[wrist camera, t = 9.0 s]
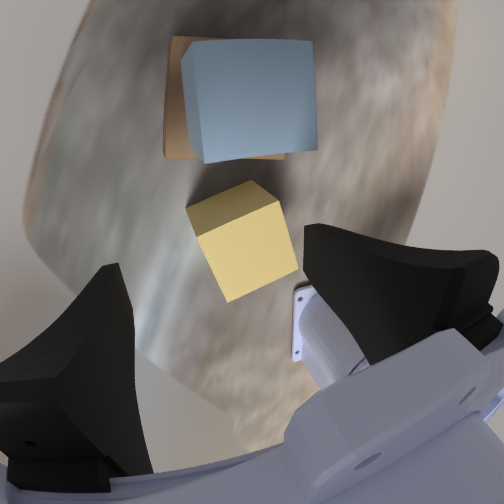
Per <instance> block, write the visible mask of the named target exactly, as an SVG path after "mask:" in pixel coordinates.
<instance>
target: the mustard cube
mask: <svg viewBox="0 0 504 504" xmlns="http://www.w3.org/2000/svg"><path fill="white" fill-rule="evenodd" d="M185 209H186V211H187V214H188V217H189V219H190V222H191V224H192V227H193V229H194V232H195V235H196V237H197V239H198V241H199V244H200V246H201V248H202V250H203V252H204V254H205V256H206V259H207V261H208V263H209V265H210V267H211V269H212V271H213V273H214V275H215V277H216V279H217V282H218V284H219V286H220V288H221V290H222V292H223V294H224V296H225V298H226V300H227V302H230V301H232V300H234V299H237V298H239V297H241V296H243V295H245V294H247V293H249V292H251V291H254V290H256V289H258V288H260V287H262V286H264V285H266V284H268V283H270V282H272V281H274V280H277V279H279V278H281V277H283V276H285V275H287V274H289V273H291V272H293V271H295V270H297V269H298V266H297V262H296V258H295V255H294V251H293V248H292V244H291V240H290V237H289V233H288V230H287V226H286V223H285V220H284V216H283V213H282V209H281V206H280V202H279V200H278V199H276V198H275V197H274V196H272V195H271V194H270V193H268V192H267V191H266V190H264V189H263V188H262V187H260V186H259V185H258V184H256V183H255V182H254V181H252V180H249V181H247V182H245V183H242V184H240V185H237V186H235V187H233V188H230V189H228V190H226V191H223V192H221V193H219V194H216V195H214V196H212V197H210V198H207V199H205V200H203V201H200V202H198V203H196V204H194V205H192V206H189V207H187V208H185Z"/></svg>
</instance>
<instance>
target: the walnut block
mask: <svg viewBox="0 0 504 504" xmlns="http://www.w3.org/2000/svg"><path fill="white" fill-rule="evenodd" d="M209 40H225V39H222V38H209V37H190V36H172V39H171V42H170V44H169V48H168V59H167V72H166V86H165V104H164V128H163V153H164V156H165V159H195V158H199V157H198V156H197V155H196V154H195V153H194V152H193V151H192V150H191V149H190V146H189V138H188V130H187V121H186V112H185V102H184V93H183V83H182V72H181V61H180V60H181V59H182V57H183V56H184V54H185V53H186V51H187V50H188V48H189V47H190V45H191V44H192V42H197V41H209ZM284 156H285V153H281V154H272V155H264V156H256V157H248V158H244V159H278V160H284Z"/></svg>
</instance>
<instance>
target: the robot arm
mask: <svg viewBox="0 0 504 504" xmlns="http://www.w3.org/2000/svg"><path fill="white" fill-rule="evenodd" d="M303 271H304V273H305V274H306V276H307V278H308V279H309V281H310V283H311V284H312V285H309V286H305V287H301V288H298V289H296V290H295V292H294V304H293V331H292V353H291V359H292V361H293V362H297V361H300V360H302V361H303V363H304V364H305V366H306V367H307V369H308V371H309V372H310V374H311V375H312V377H313V379H314V380H315V382H316V383H317V385H318V386H319V388H320V391H318V392H316V393H315V394H314V395H313V396H312V397H311V398H309V399H308V400H307V401H306V402H305V403H304V404H303V405H301V406H300V407H299V408H298V409H297V410H296V411H295V412H294V414H293V416H292V418H291V420H290V422H289V424H288V426H287V428H286V430H285V432H284V442H283V443H280V444H277V445H274V446H271V447H268V448H265V449H262V450H259V451H255V452H252V453H248V454H245V455H241V456H238V457H234V458H230V459H226V460H222V461H218V462H214V463H209V464H205V465H200V466H195V467H190V468H185V469H180V470H174V471H168V472H162V473H153V469H152V466H151V462H150V459H149V455H148V451H147V447H146V443H145V439H144V435H143V430H142V425H141V420H140V415H139V409H138V403H137V397H136V390H135V368H134V367H135V360H134V359H135V327H134V317H133V308H132V305H131V302H130V299H129V296H128V293H127V290H126V286H125V283H124V280H123V277H122V273H121V270H120V267H119V263H114V264H109V265H104V266H102V267H101V268H100V269H99V270H98V272H97V273H96V274H95V275H94V277H93V278H92V279H91V280H90V282H89V283H88V284H87V285H86V287H85V288H84V289H83V290H82V292H81V293H80V294H79V295H78V296H77V297H76V299H75V300H74V301H73V302H72V303H71V304H70V306H69V307H68V308H67V309H66V310H65V311H64V312H63V313H62V314H61V316H60V317H59V318H58V319H57V320H56V321H55V322H53V323H52V324H51V325H50V326H49V327H48V328H47V329H46V330H45V331H44V332H42V333H41V334H40V335H39V336H38V337H36V338H35V339H34V340H33V341H31V342H30V343H29V344H28V345H26V346H25V347H24V348H22V349H21V350H20V351H18V352H17V353H15V354H13V355H12V356H11V357H9V358H7V359H6V360H4V361H3V362H1V363H0V451H2V452H3V453H4V454H5V455H6V456H7V457H9V459H8V467H7V466H5V465H2V464H0V504H504V444H503V442H502V441H501V440H500V439H499V438H498V437H497V435H496V434H495V433H494V432H493V431H492V430H491V429H490V427H489V426H488V425H487V424H486V422H487V421H488V420H489V419H490V418H491V417H492V416H493V415H494V413H495V412H496V411H497V410H498V409H499V408H500V407H501V406H502V405H503V404H504V309H503V310H502V311H501V312H500V313H499V314H498V316H497V317H495V316H493V315H492V314H491V312H492V311H493V307H492V306H491V305H490V304H489V303H488V301H489V299H490V296H491V293H492V291H493V288H494V285H495V283H496V280H497V277H498V273H499V260H498V258H497V257H496V256H495V255H494V254H492V253H490V252H489V251H486V250H466V251H465V250H464V251H452V250H433V249H423V248H416V247H409V246H405V245H399V244H394V243H390V242H386V241H382V240H378V239H374V238H371V237H367V236H364V235H361V234H357V233H354V232H351V231H347V230H344V229H341V228H337V227H334V226H330V225H326V224H320V223H317V224H311V225H306V226H304V256H303ZM299 297H301V298H300V299H298V298H299Z"/></svg>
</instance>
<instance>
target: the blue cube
mask: <svg viewBox="0 0 504 504" xmlns="http://www.w3.org/2000/svg"><path fill="white" fill-rule="evenodd" d="M180 61H181V72H182V83H183V93H184V102H185V112H186V121H187V130H188V138H189V146H190V149H191V150H192V151H193V152H194V153H195V154H196V155H197V156H198V157H199V158H200V159H201V160H202V162H203V163H204V164H208V163H214V162H220V161H227V160H234V159H241V158H248V157H256V156H264V155H272V154H281V153H290V152H300V151H311V150H318V145H317V110H316V88H315V70H314V55H313V42H312V41H304V40H288V39H225V40H209V41H197V42H192V44H191V45H190V47H189V48H188V50H187V51H186V53H185V54H184V56H183V57H182V59H181V60H180Z"/></svg>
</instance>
